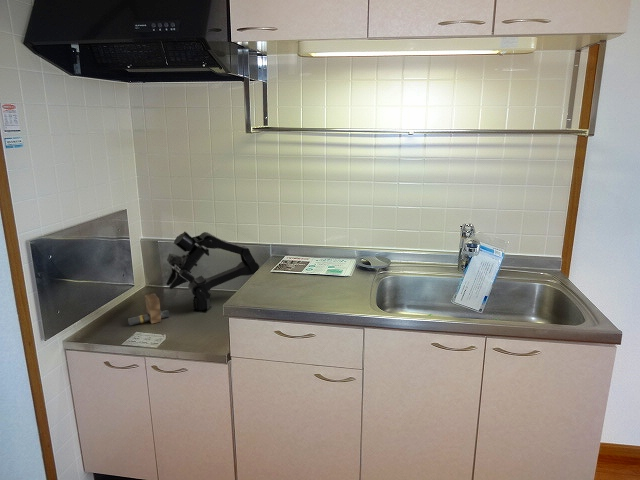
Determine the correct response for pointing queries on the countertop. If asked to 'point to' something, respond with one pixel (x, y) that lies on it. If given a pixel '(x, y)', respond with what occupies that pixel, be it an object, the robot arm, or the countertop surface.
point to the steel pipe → (145, 318)
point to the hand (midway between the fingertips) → (168, 286)
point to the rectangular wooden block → (153, 307)
